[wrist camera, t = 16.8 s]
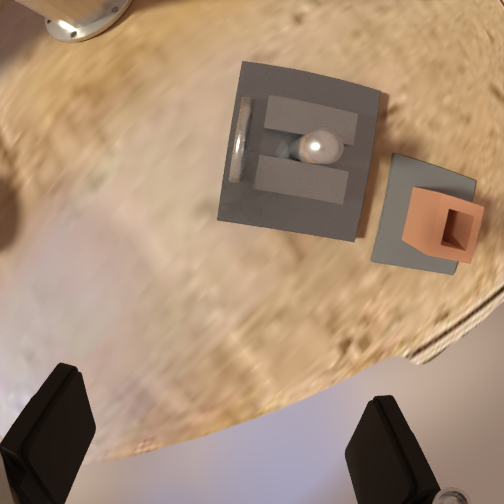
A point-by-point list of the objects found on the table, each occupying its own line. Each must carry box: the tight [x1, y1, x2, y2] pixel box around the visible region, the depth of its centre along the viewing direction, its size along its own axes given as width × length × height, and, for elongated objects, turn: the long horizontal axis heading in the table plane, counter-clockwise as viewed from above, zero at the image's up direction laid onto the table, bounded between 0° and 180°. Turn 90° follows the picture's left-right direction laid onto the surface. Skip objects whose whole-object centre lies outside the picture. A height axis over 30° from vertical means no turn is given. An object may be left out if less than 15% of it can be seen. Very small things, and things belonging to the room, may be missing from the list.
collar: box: [402, 187, 485, 264], centre depth 29 cm, size 6×6×6 cm
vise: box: [217, 61, 380, 242], centre depth 25 cm, size 16×14×12 cm
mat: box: [371, 153, 476, 275], centre depth 32 cm, size 12×12×1 cm
